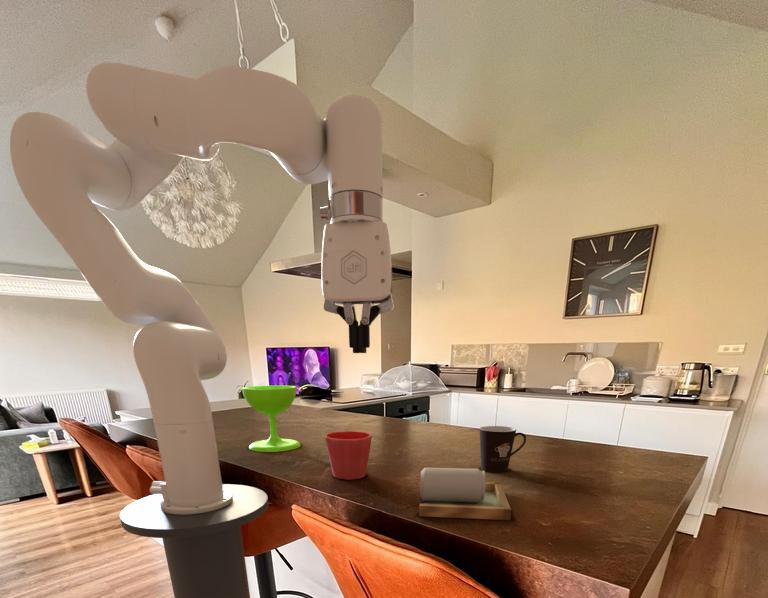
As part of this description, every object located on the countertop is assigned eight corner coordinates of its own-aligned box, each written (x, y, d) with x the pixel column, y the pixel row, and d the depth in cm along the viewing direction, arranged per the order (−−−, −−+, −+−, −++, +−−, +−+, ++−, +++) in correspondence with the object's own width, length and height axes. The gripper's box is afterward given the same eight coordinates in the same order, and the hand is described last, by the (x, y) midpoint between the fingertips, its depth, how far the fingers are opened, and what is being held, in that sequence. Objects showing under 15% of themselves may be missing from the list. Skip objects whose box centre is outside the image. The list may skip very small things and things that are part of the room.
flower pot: (381, 473, 102) (380, 433, 98) (353, 484, 93) (352, 440, 90) (346, 467, 107) (345, 429, 104) (317, 477, 98) (315, 436, 95)
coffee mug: (476, 472, 101) (480, 431, 98) (476, 464, 109) (479, 425, 106) (527, 474, 100) (532, 432, 96) (522, 466, 107) (527, 426, 104)
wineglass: (302, 450, 128) (298, 388, 121) (247, 453, 124) (240, 389, 117) (298, 440, 142) (294, 385, 136) (249, 443, 138) (242, 386, 132)
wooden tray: (419, 516, 74) (419, 505, 74) (424, 489, 89) (424, 480, 89) (510, 520, 72) (511, 509, 71) (499, 491, 87) (500, 482, 87)
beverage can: (419, 493, 77) (486, 495, 75) (421, 461, 79) (486, 463, 77) (419, 505, 83) (482, 507, 81) (421, 475, 85) (482, 477, 83)
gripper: (297, 209, 57) (306, 353, 64) (406, 203, 55) (404, 352, 62) (313, 225, 64) (320, 353, 71) (410, 220, 62) (409, 352, 69)
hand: (359, 352), depth 66 cm, fingers closed
